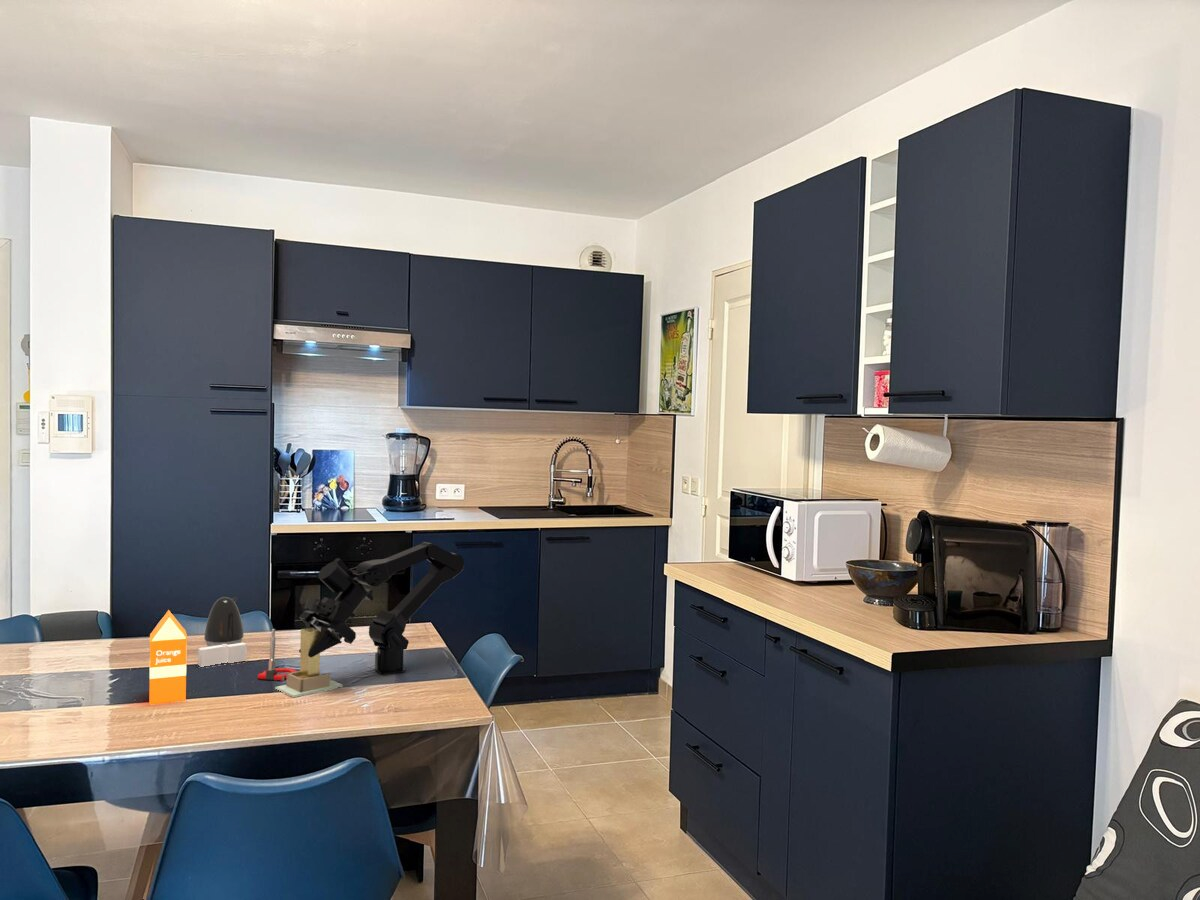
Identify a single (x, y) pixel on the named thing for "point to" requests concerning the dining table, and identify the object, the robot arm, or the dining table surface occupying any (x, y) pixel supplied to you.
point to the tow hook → (272, 672)
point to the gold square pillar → (308, 664)
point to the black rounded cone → (224, 623)
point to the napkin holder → (222, 654)
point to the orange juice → (167, 661)
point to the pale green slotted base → (307, 684)
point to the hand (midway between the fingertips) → (304, 654)
